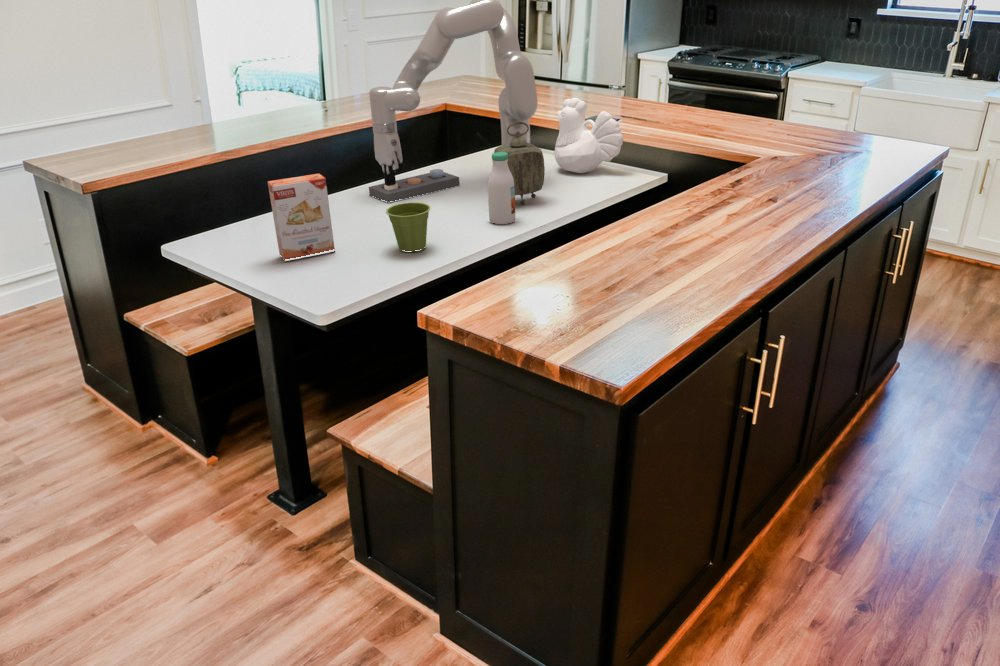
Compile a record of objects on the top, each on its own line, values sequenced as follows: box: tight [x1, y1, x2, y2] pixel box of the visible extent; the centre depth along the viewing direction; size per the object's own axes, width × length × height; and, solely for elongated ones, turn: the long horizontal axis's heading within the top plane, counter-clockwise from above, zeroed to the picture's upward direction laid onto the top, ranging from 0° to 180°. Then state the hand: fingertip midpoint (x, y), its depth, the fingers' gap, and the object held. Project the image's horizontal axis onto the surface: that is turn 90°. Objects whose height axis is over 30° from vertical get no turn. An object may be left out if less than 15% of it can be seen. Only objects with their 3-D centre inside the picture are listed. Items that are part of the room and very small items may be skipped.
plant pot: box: [385, 201, 432, 252], centre depth 211 cm, size 12×12×11 cm
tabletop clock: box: [493, 122, 546, 206], centre depth 241 cm, size 14×9×25 cm, turn 108°
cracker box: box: [267, 173, 336, 261], centre depth 208 cm, size 14×6×21 cm, turn 117°
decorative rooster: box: [554, 97, 624, 174], centre depth 270 cm, size 25×16×25 cm, turn 43°
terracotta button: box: [408, 178, 421, 185], centre depth 263 cm, size 4×4×3 cm
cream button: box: [384, 183, 398, 190], centre depth 258 cm, size 4×4×3 cm
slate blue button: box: [429, 168, 444, 179], centre depth 267 cm, size 4×4×3 cm
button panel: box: [368, 171, 461, 202], centre depth 263 cm, size 12×28×3 cm, turn 128°
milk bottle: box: [487, 152, 516, 225], centre depth 227 cm, size 8×8×20 cm
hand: (390, 184), depth 257 cm, fingers closed
